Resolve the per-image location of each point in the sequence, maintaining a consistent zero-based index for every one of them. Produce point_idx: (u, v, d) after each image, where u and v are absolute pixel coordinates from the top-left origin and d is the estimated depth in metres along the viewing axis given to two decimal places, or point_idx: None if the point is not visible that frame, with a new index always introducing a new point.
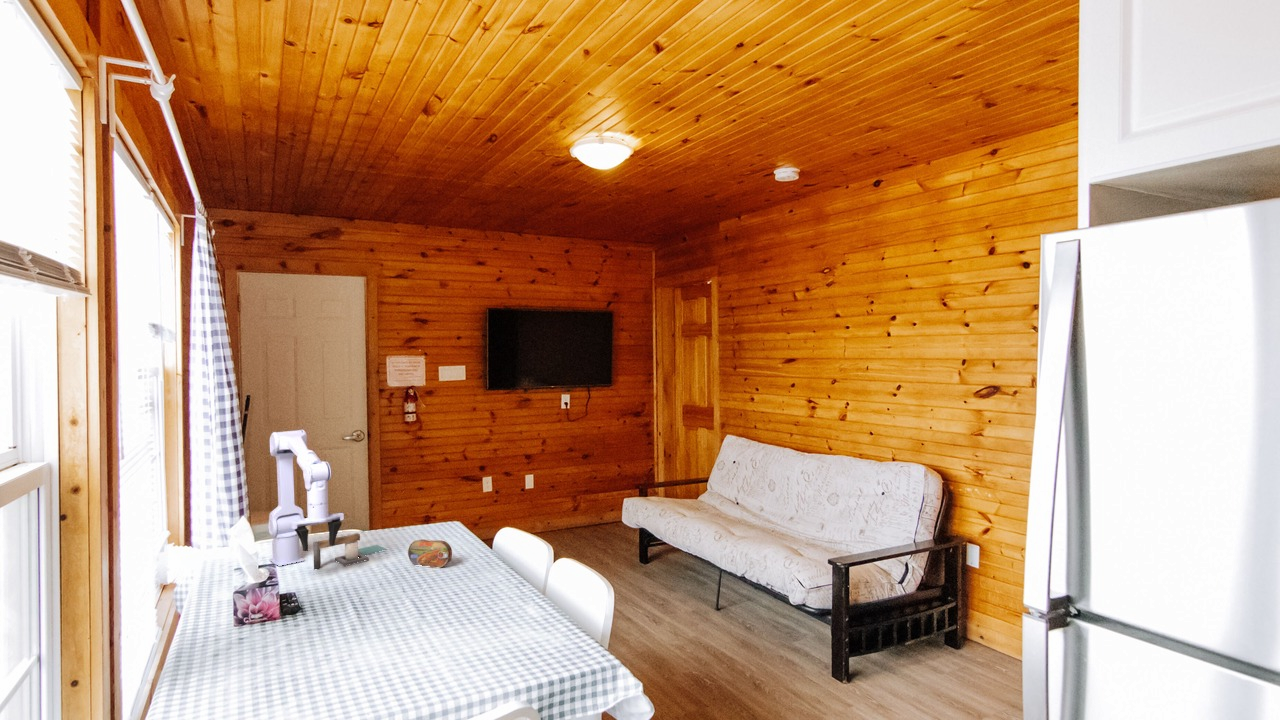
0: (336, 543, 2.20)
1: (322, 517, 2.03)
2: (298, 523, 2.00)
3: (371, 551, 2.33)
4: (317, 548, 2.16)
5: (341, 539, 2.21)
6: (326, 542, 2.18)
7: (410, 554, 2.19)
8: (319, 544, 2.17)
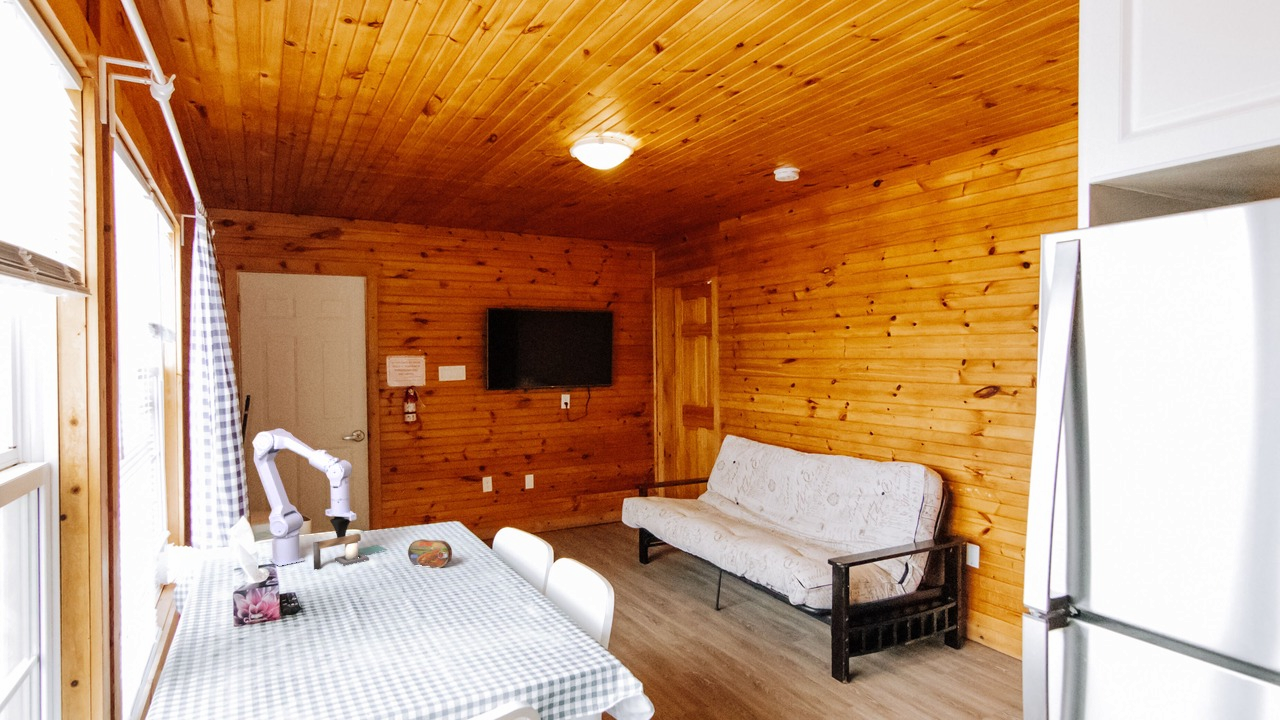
0: (336, 543, 2.20)
1: (333, 512, 2.21)
2: (327, 511, 2.26)
3: (371, 551, 2.33)
4: (317, 548, 2.16)
5: (341, 539, 2.21)
6: (326, 542, 2.18)
7: (410, 554, 2.19)
8: (319, 545, 2.17)
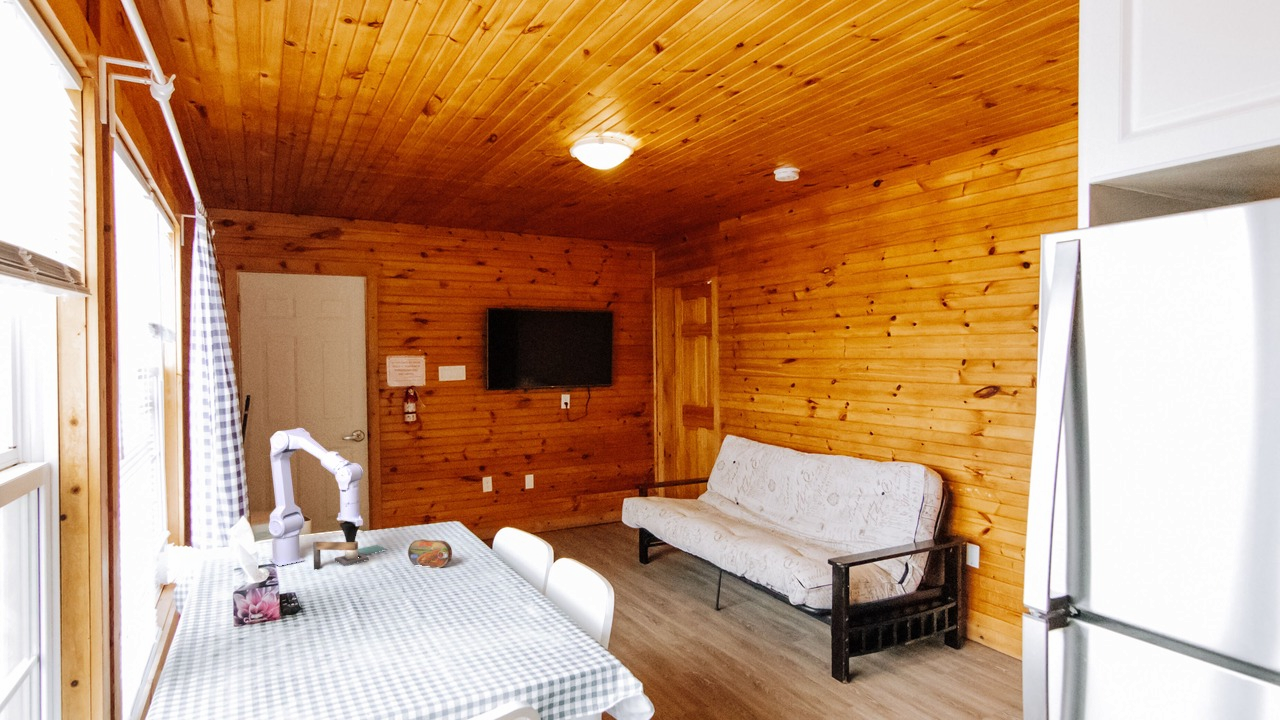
0: (332, 548, 2.15)
1: (341, 516, 2.15)
2: (339, 514, 2.21)
3: (371, 551, 2.33)
4: (314, 548, 2.16)
5: (336, 545, 2.15)
6: (322, 544, 2.16)
7: (410, 554, 2.19)
8: (317, 545, 2.16)
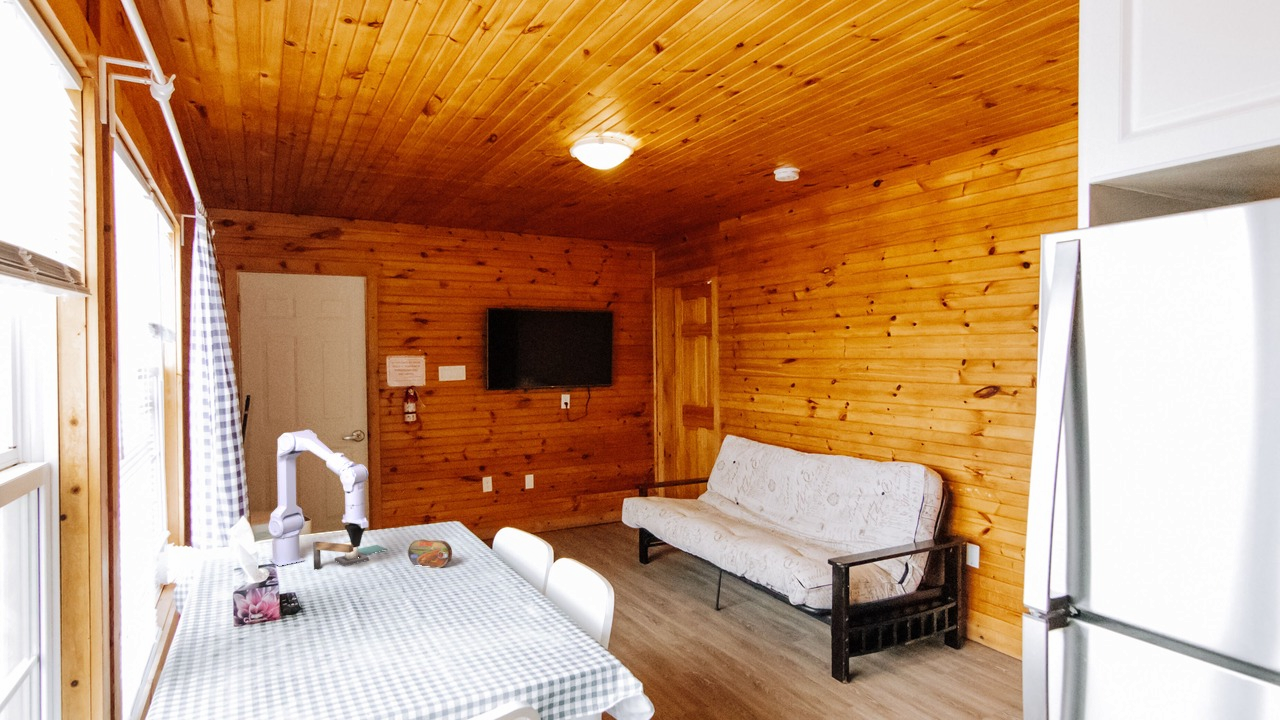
0: (329, 549, 2.14)
1: (346, 518, 2.12)
2: (344, 516, 2.18)
3: (371, 551, 2.33)
4: (314, 548, 2.16)
5: (333, 546, 2.14)
6: (321, 545, 2.15)
7: (410, 554, 2.19)
8: (316, 545, 2.16)
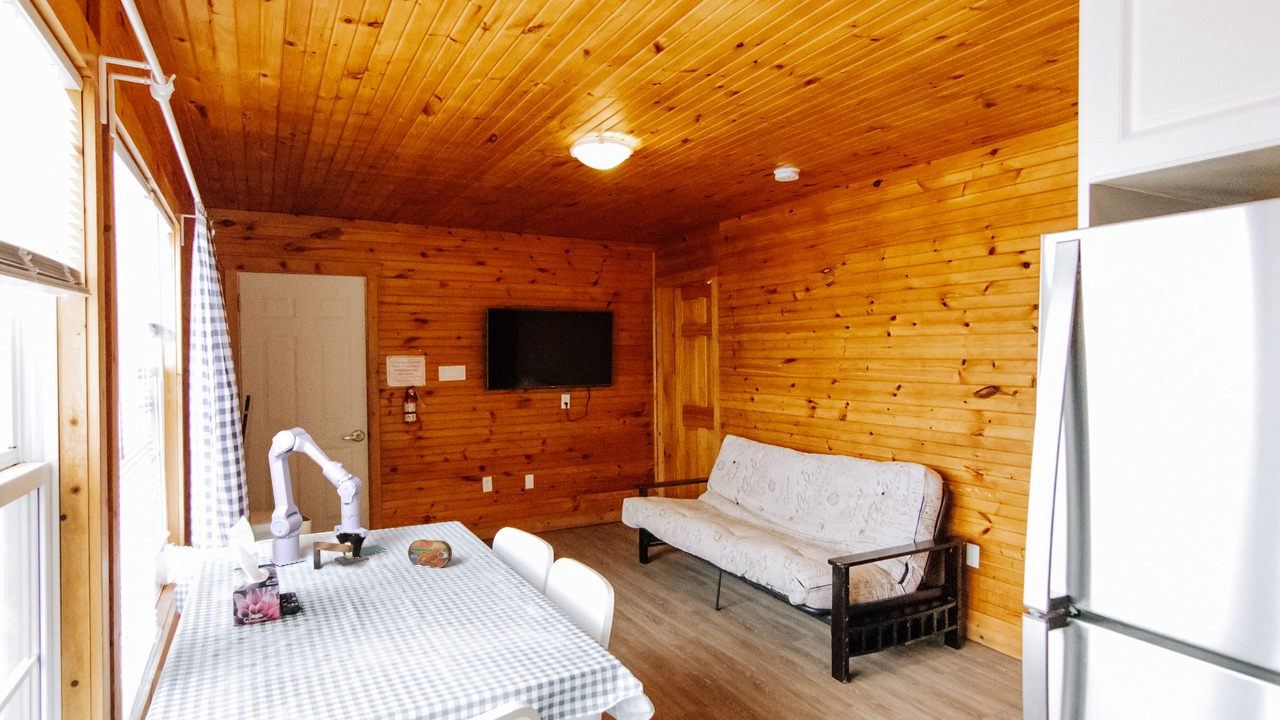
0: (329, 549, 2.14)
1: (344, 528, 2.22)
2: (336, 528, 2.27)
3: (371, 551, 2.33)
4: (314, 548, 2.16)
5: (333, 546, 2.14)
6: (321, 545, 2.15)
7: (410, 554, 2.19)
8: (316, 545, 2.16)
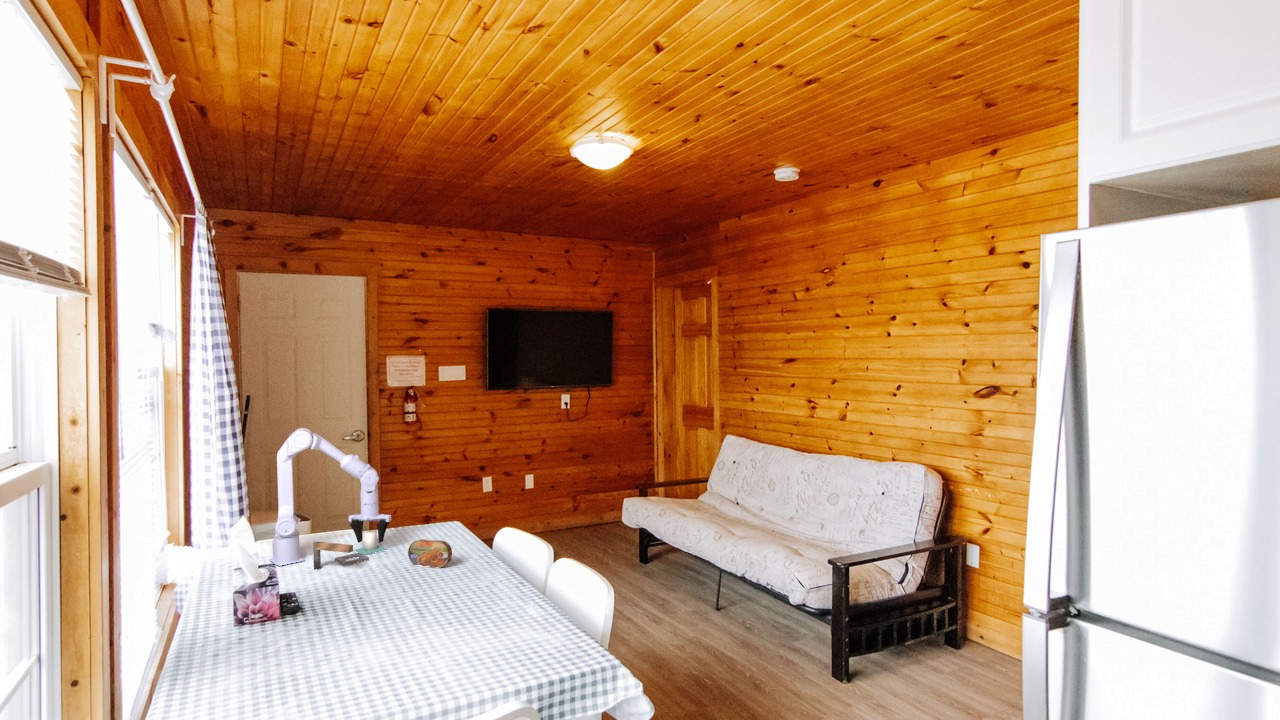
0: (329, 549, 2.14)
1: (366, 516, 2.32)
2: (351, 517, 2.35)
3: (371, 551, 2.33)
4: (314, 548, 2.16)
5: (333, 546, 2.14)
6: (321, 545, 2.15)
7: (410, 554, 2.19)
8: (316, 545, 2.16)
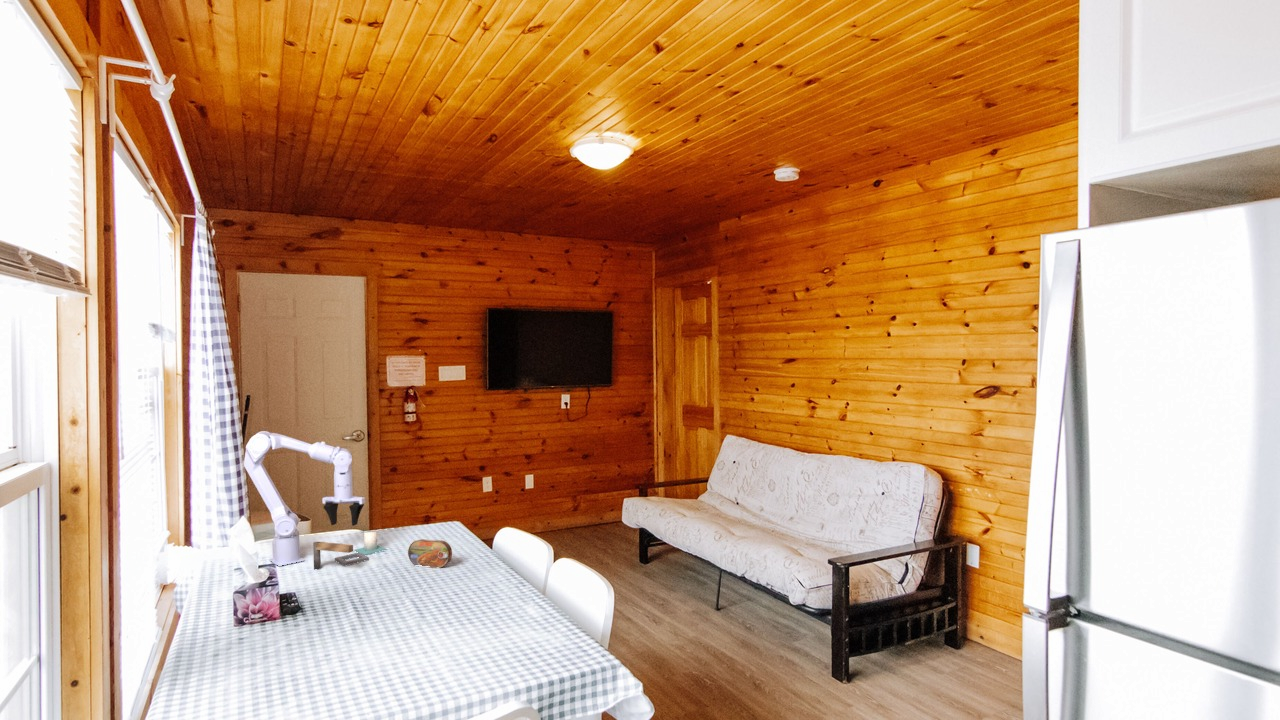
0: (329, 549, 2.14)
1: (339, 498, 2.28)
2: (325, 499, 2.30)
3: (371, 551, 2.33)
4: (314, 548, 2.16)
5: (333, 546, 2.14)
6: (321, 545, 2.15)
7: (410, 554, 2.19)
8: (316, 545, 2.16)
